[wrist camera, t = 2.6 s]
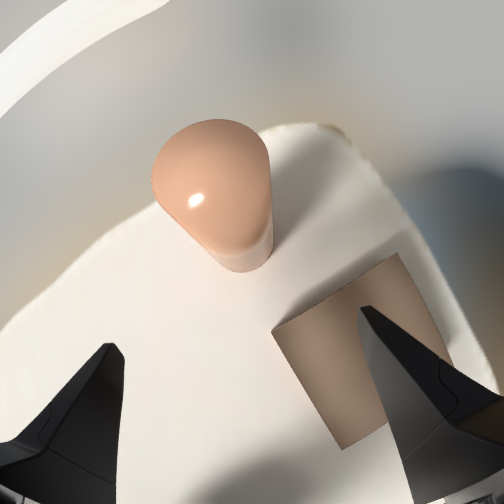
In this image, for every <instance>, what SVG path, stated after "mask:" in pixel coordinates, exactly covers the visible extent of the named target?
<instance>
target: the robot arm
mask: <svg viewBox="0 0 504 504" xmlns="http://www.w3.org/2000/svg"><path fill="white" fill-rule="evenodd" d="M357 330H358V333H359V337H360V341H361V344H362V348H363V351H364V355H365V359H366V362H367V366H368V369H369V371H370V374H371V376H372V379H373V382H374V384H375V387H376V389H377V392H378V395H379V397H380V400H381V403H382V405H383V408H384V411H385V413H386V416H387V419H388V422H389V425H390V427H391V430H392V433H393V436H394V439H395V442H396V445H397V448H398V451H399V454H400V457H401V460H402V464H403V467H404V470H405V474H406V477H407V480H408V484H409V487H410V490H411V494H412V498H413V501H414V504H427V503H430V502H433V501H436V500H438V499H441V498H444V500H445V503H444V504H504V397H503V396H500V395H498V394H495V393H494V392H492V391H490V390H489V389H487V388H485V387H484V386H482V385H480V384H479V383H477V382H476V381H474V380H472V379H471V378H469V377H467V376H466V375H464V374H463V373H461V372H460V371H458V370H457V369H456V368H454V367H453V366H451V365H450V364H449V363H447V362H446V361H445V360H444V359H442V358H440V357H439V356H438V355H437V354H436V353H434V352H433V351H432V350H430V349H429V348H428V347H426V346H425V345H424V344H422V343H421V342H420V341H418V340H417V339H416V338H415V337H413V336H412V335H411V334H409V333H408V332H407V331H405V330H404V329H403V328H401V327H400V326H398V325H397V324H396V323H394V322H393V321H392V320H390V319H389V318H388V317H386V316H385V315H384V314H382V313H381V312H380V311H378V310H377V309H375V308H374V307H373V306H371V305H365V306H360V307H359V308H358V314H357ZM124 366H125V359H124V356H123V354H122V353H121V352H120V350H119V349H118V347H117V346H116V345H115V344H114V343H104V344H103V345H102V346H101V347H100V348H99V349H98V350H97V351H96V352H95V353H94V354H93V356H92V357H91V358H90V359H89V360H88V361H87V362H86V363H85V364H84V365H83V366H82V367H81V368H80V369H79V371H78V372H77V373H76V374H75V375H74V376H73V377H72V378H71V379H70V380H69V381H68V383H67V384H66V385H65V386H64V387H63V388H62V389H61V390H60V391H59V393H58V394H57V395H56V396H55V397H54V398H53V399H52V402H50V403H49V404H48V405H47V406H46V407H45V408H44V409H43V411H42V412H41V413H40V414H39V415H38V416H37V417H36V418H35V419H34V420H33V421H32V422H31V423H30V424H29V425H28V426H27V427H26V428H25V429H24V430H23V431H22V432H21V433H20V434H19V435H18V436H17V437H16V438H14V439H13V440H11V441H8V442H3V443H0V504H116V473H117V454H118V440H119V429H120V419H121V410H122V402H123V390H124Z"/></svg>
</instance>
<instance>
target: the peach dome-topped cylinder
mask: <svg viewBox="0 0 504 504" xmlns="http://www.w3.org/2000/svg"><path fill="white" fill-rule="evenodd" d="M151 181H152V182H151V184H152V189H153V193H154V196H155V198H156V200H157V202H158V203H159V204H160V206H161V207H162V208H163V209H164V210H165V211H166V212H167V213H168V214H169V215H170V216H171V217H172V218H173V219H174V220H175V221H176V222H177V223H178V224H179V225H180V226H181V227H182V228H183V229H184V230H185V231H186V232H187V233H188V234H189V235H190V236H191V237H192V238H193V239H195V240H196V241H197V242H198V243H199V244H200V245H201V246H202V247H203V248H204V249H205V250H206V251H207V252H208V253H209V254H210V255H211V256H212V257H213V258H214V259H215V260H217V261H218V262H219V263H220V264H221V265H222V266H223V267H225V268H226V269H228V270H231V271H234V272H241V273H242V272H249V271H253V270H255V269H257V268H259V267H260V266H262V265H263V264H264V263H265V262H266V261H267V259H268V258H269V256H270V254H271V252H272V249H273V242H274V239H273V218H272V198H271V180H270V163H269V155H268V151H267V148H266V146H265V144H264V142H263V141H262V139H261V138H260V137H259V136H258V135H257V133H255V132H254V131H253V130H252V129H250V128H249V127H247V126H245V125H243V124H241V123H238V122H235V121H231V120H224V119H212V120H206V121H201V122H198V123H195V124H192V125H190V126H188V127H186V128H184V129H182V130H181V131H179V132H178V133H176V134H175V135H174V136H173V137H172V138H170V139H169V140H168V141H167V142H166V144H165V145H164V146H163V147H162V149H161V150H160V152H159V153H158V155H157V157H156V160H155V162H154V165H153V169H152V175H151Z"/></svg>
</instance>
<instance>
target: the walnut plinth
mask: <svg viewBox="0 0 504 504" xmlns="http://www.w3.org/2000/svg"><path fill="white" fill-rule="evenodd" d="M365 305H371V306H373V307H374V308H375V309H377V310H378V311H380V312H381V313H382V314H384V315H385V316H386V317H388V318H389V319H390V320H392V321H393V322H394V323H396V324H397V325H398V326H400V327H401V328H403V329H404V330H405V331H407V332H408V333H409V334H411V335H412V336H413V337H415V338H416V339H417V340H418V341H420V342H421V343H422V344H424V345H425V346H426V347H428V348H429V349H430V350H432V351H433V352H434V353H436V354H437V355H438V356H439V357H440V358H442V359H444V360H445V361H446V362H447V363H449V364H450V365H451V366H453V367H454V365H453V363H452V360H451V358H450V356H449V353H448V351H447V349H446V346H445V344H444V342H443V340H442V337H441V335H440V333H439V331H438V329H437V327H436V325H435V322H434V320H433V318H432V316H431V314H430V312H429V310H428V308H427V306H426V304H425V302H424V300H423V299H422V297H421V295H420V293H419V291H418V289H417V287H416V285H415V284H414V282H413V280H412V278H411V276H410V275H409V273H408V271H407V269H406V268H405V266H404V264H403V262H402V261H401V259H400V257H399V256H398V254H397V253H395V254H394V255H392V256H390V257H388V258H387V259H385V260H383V261H382V262H380V263H379V264H377V265H376V266H375V267H373V268H372V269H370V270H369V271H367V272H366V273H364V274H363V275H361V276H360V277H358V278H357V279H355V280H354V281H352V282H351V283H349V284H347V285H346V286H344V287H343V288H341V289H340V290H338V291H337V292H335V293H333V294H332V295H330V296H329V297H327V298H325V299H324V300H322V301H321V302H319V303H317V304H316V305H314V306H312V307H311V308H309V309H307V310H306V311H304V312H302V313H301V314H299V315H297V316H296V317H294V318H292V319H291V320H289V321H287V322H285V323H284V324H282V325H280V326H278V327H277V328H275V329H273V330H272V331H271V333H272V335H273V337H274V339H275V340H276V342H277V344H278V346H279V347H280V349H281V351H282V352H283V354H284V356H285V357H286V359H287V361H288V363H289V364H290V366H291V368H292V369H293V371H294V373H295V374H296V376H297V378H298V379H299V381H300V383H301V384H302V386H303V388H304V389H305V391H306V393H307V394H308V396H309V398H310V399H311V401H312V403H313V404H314V406H315V408H316V409H317V411H318V413H319V414H320V416H321V418H322V419H323V421H324V422H325V424H326V426H327V427H328V429H329V431H330V432H331V434H332V435H333V437H334V439H335V440H336V442H337V443H338V445H339V447H340V448H341V450H344V449H345V448H347V447H349V446H351V445H352V444H354V443H356V442H357V441H359V440H361V439H362V438H364V437H366V436H367V435H369V434H370V433H372V432H374V431H375V430H377V429H378V428H380V427H381V426H383V425H384V424H386V423H387V422H388V419H387V416H386V413H385V411H384V408H383V405H382V403H381V400H380V397H379V395H378V392H377V389H376V387H375V384H374V382H373V379H372V376H371V374H370V371H369V369H368V366H367V362H366V359H365V355H364V351H363V348H362V344H361V341H360V337H359V333H358V330H357V314H358V308H359V307H360V306H365Z"/></svg>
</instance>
